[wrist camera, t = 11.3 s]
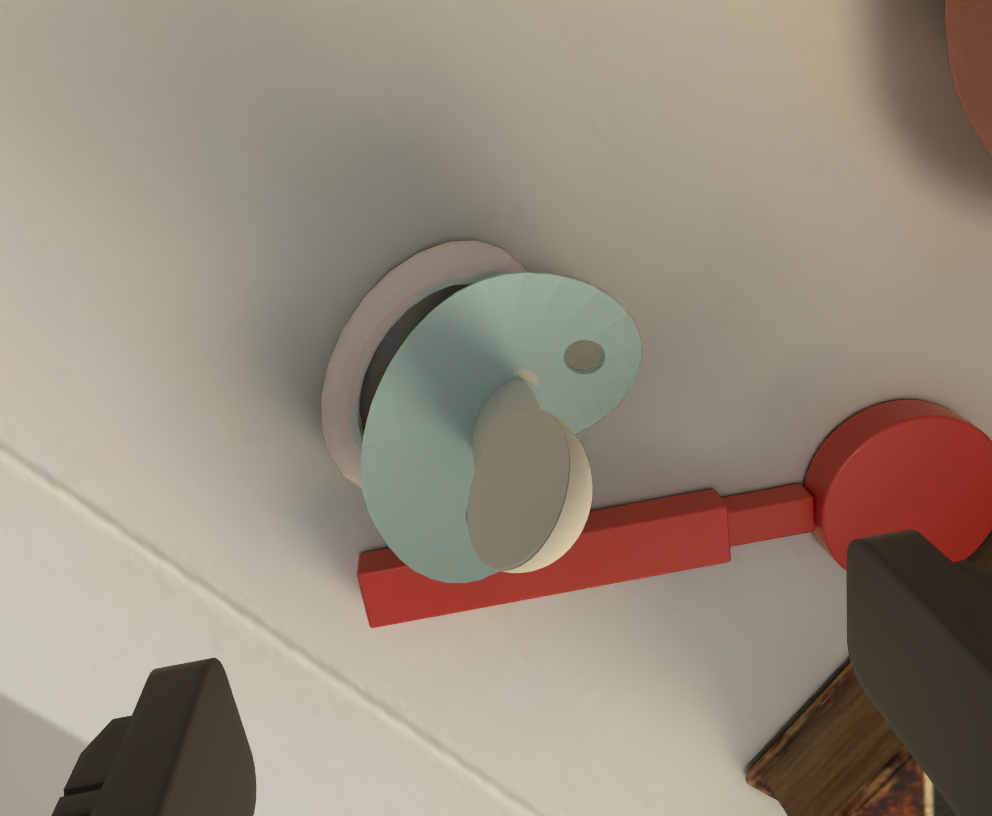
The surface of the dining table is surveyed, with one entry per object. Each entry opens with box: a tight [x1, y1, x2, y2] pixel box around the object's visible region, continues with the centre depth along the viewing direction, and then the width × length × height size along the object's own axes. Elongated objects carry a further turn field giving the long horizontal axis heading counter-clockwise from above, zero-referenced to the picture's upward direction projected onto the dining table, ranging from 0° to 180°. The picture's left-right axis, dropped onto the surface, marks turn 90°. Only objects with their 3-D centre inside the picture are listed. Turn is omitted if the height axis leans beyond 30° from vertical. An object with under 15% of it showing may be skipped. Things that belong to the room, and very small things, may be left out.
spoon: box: [357, 400, 992, 628], centre depth 22 cm, size 16×5×1 cm, turn 99°
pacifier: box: [321, 240, 642, 583], centre depth 18 cm, size 7×6×6 cm
